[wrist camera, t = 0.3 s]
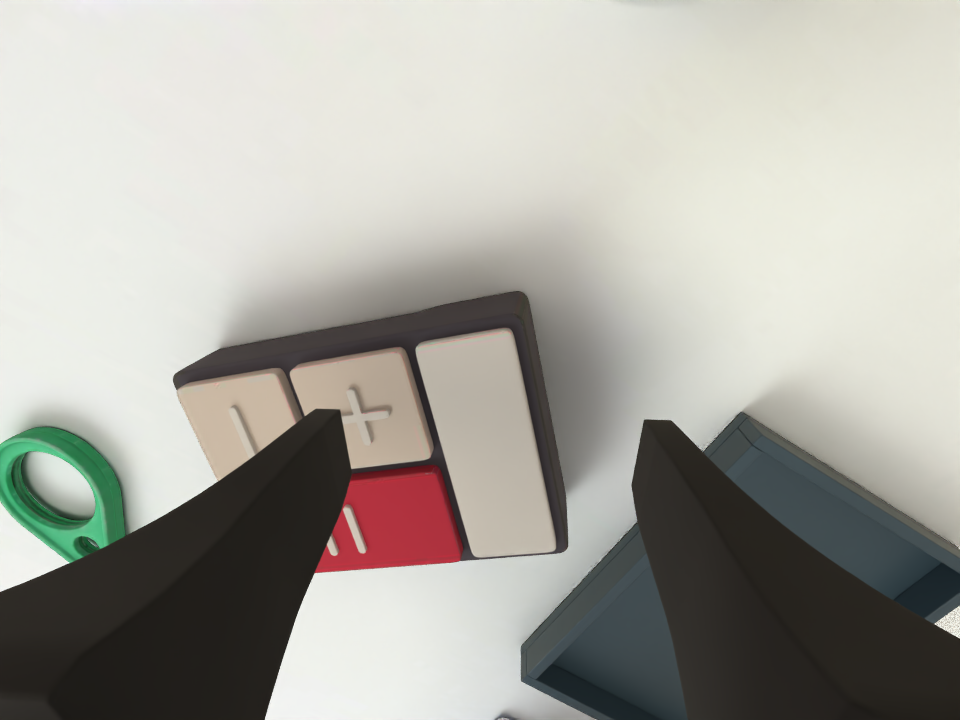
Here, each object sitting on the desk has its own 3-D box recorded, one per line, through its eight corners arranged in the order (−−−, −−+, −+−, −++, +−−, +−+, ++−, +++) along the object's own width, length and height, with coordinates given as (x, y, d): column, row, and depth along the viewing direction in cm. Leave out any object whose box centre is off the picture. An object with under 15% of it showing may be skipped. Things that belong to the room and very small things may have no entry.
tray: (702, 740, 30) (715, 780, 28) (520, 646, 28) (520, 681, 27) (956, 546, 24) (995, 580, 22) (741, 411, 22) (762, 434, 20)
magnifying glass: (-13, 438, 26) (-47, 455, 25) (80, 415, 25) (51, 431, 24) (131, 643, 31) (110, 668, 30) (214, 630, 30) (197, 656, 29)
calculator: (153, 382, 20) (521, 317, 17) (219, 345, 24) (527, 288, 21) (254, 590, 23) (571, 568, 20) (297, 528, 27) (567, 502, 24)
